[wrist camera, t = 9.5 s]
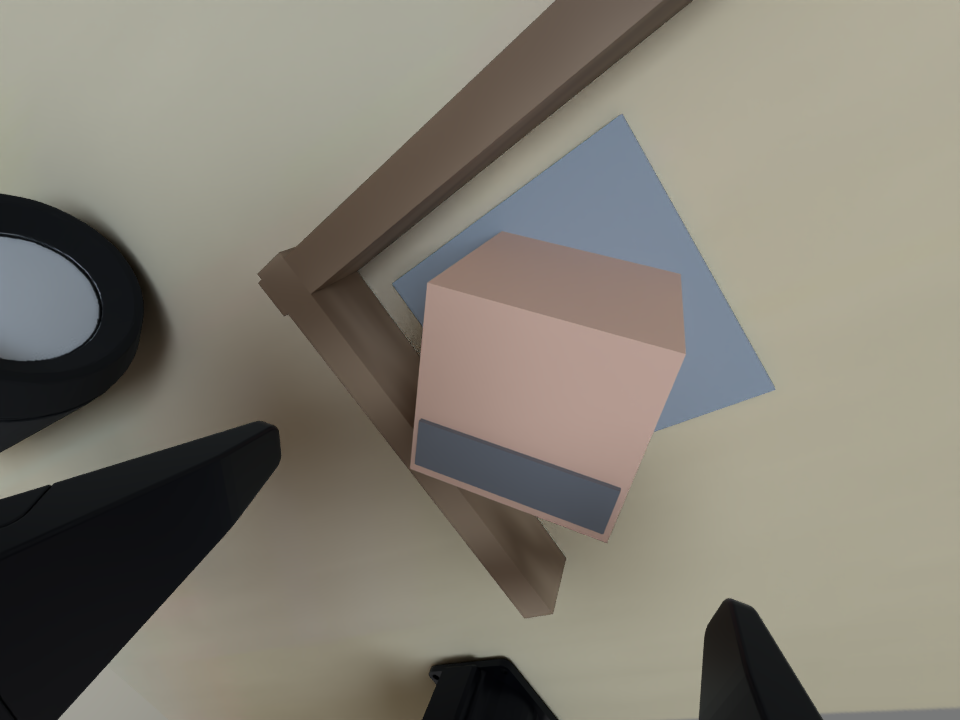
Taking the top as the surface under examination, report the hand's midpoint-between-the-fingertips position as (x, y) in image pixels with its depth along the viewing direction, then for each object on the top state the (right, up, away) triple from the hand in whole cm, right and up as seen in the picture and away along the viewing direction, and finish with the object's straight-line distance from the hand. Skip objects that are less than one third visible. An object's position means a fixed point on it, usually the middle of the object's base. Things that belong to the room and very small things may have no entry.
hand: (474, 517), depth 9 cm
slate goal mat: (+3, +4, +8) cm, 10 cm away
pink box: (+3, +4, +8) cm, 10 cm away
